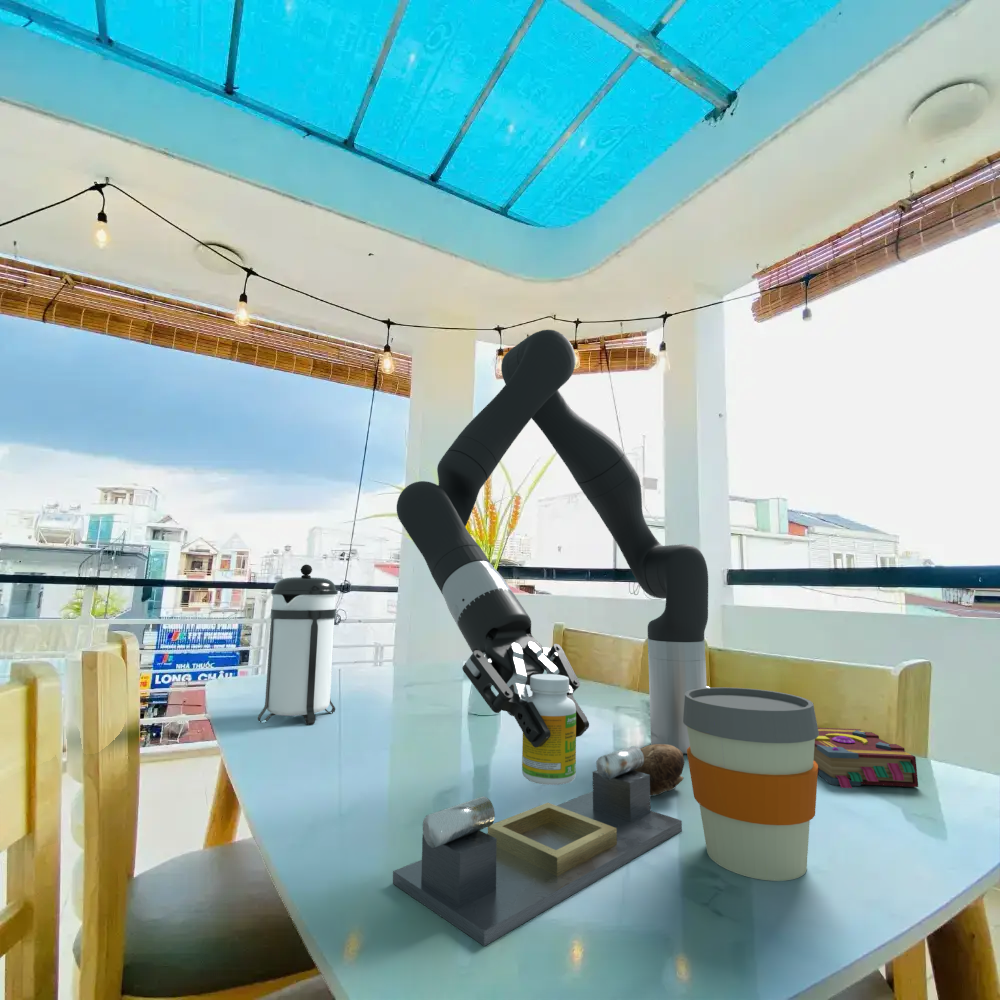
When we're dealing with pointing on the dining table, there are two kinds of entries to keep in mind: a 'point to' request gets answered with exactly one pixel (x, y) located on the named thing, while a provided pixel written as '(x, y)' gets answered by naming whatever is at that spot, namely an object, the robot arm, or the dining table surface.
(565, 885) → the shaft bench
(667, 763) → the brown rough round lump
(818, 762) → the decorative book
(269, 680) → the coffee press
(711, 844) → the reusable coffee cup
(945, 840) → the dining table surface
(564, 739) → the supplement bottle
